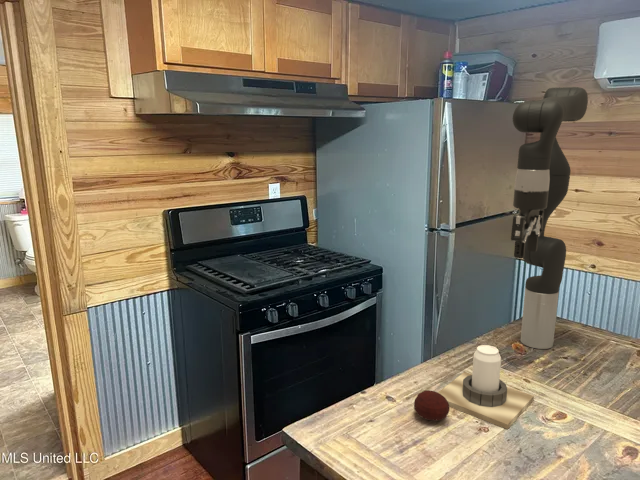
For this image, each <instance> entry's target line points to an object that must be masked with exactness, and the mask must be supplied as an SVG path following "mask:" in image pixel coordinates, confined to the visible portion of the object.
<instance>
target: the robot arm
mask: <svg viewBox="0 0 640 480" xmlns="http://www.w3.org/2000/svg"><path fill="white" fill-rule="evenodd" d="M588 95H589V94H588V92H587V90H586V89H585V88H583V87H580V86H578V87H577V86H570V87H567V86H566V87H549V88H547V89H546V91H545V93H544V96H543V98H542V99H540V100H528V101H522V102H520V103H519V104H518V105H517V106H516V107H515V108H514V111H513V113H512V124H513V127H514V128H515V129H516V130H517V131H518V132H521V133H524V134H525V133H527V134H529V133H531V134H532V133H533V134H534V133H536V134H537V133H540V134H539V139H538V140H537V141H534V142H527V143H524V144H521V145H520V146H519V149H518V158H517V168H516V175H515V178H514V179H515V180H514V189H513V190H514V191H513V203H512V206H513V207H514V208H515V209H518V210H519V212H518V213H519V214H518V215H516V214H514V215H513V217H512V225H511V236H510V240H511V241H512V242H515V243H514V251H513V257H514V258H517V259H523V261H524V262H525V263H526V265H530V266H534V267H538V268H541V269H542V273H541V275H532V276H529V277H528V278H527V277H526V280H525V288H524V297H523V299H524V300H523V308H522V319H521V320H522V321H521V330H520V331H521V332H520V343H522V344H523V345H524V346H527V347H530V348H533V349H537V350H538V349H539V350H546V349H551V348H553V347H554V340H555V334H556V333H555V332H556V331H555V330H556V323H557V322H556V321H557V315H558V314H557V311H558V304H559V303H558V302H559V295H560V294H559V291H560V286H561V283H562V281H563V276H564V275H563V274H564V269H565V265H566V264H565V262H566V258H567V246H566V242H564V240H562V239H559V238H556V237H551V236H546V235H545V231H546V226H547V222H548V220H549V218H550V217H551V216H552V214H553V212H555V210H556V209H557V208H558V206H559V205H560V204H562V202H563V200H564V199H565V197H566V196H567V194H568V191H569V187H570V177H571V166H570V162H569V161H568V159H567V157H566V155H565V154H564V152H563V150H562V148H561V146H560V143H559V142H558V139H557V135H558V132H559V130H560V128H561V125H562V123H563V122H578V121H581V120H582V119H583V118H584V117H585V115H586V113H587V108H588V103H589V96H588Z"/></svg>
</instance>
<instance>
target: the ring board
mask: <svg viewBox="0 0 640 480" xmlns="http://www.w3.org/2000/svg"><path fill="white" fill-rule="evenodd" d="M437 393H439V394H441V395H442V396H444V397H445V398H446V399H447V401H448V403H449V408H450V407H451V408H453V409H455V410H456V411H457V410H458V411H460V412H463V413H465V414H468V415H470V416H472V417H475V418H478V419H480V420H483V421H485V422H488V423H490V424H493V425H495V426H497V427H499V428H502V429H505V430H508V429H509V428H510V427H511V426H512V425H513V424H514V423H515V421H516V420H517V419H518V418H519V417H520V416H521V415H522V414H523V413H524V411H526V409H527V408H528V407H529V406H530V405H531V404H532V403H533V402H534V399H535V395H533V394H530V393H527V392H525V391H521V390H518V389H515V388H512V387H509V386H507V384H506V382H504V381H503V380H502V379H499V391H498V392H492V393H489V392H481V391H478V390H476V389H473V388H472V373H468V372H465V371H464V372H463V373H461V374H460V375H458V376H457V377H456V378H454V379H453V380H452V381H451V382H449V383H448V384H447V385H446V386H444V387H443V388H442V389H440V391H438V392H437Z"/></svg>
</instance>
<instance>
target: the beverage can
mask: <svg viewBox="0 0 640 480" xmlns="http://www.w3.org/2000/svg"><path fill="white" fill-rule="evenodd" d="M499 350H500V349H498V348H497V347H495V346H493V345H488V344H481V345H478V346H477V347H476V350H475V351H474V353H473V360H472V373H471V374H472V388H473V389H476V390H478V391H481V392H489V393H492V392H498V391H499V379H500V378H501V367H502V366H501V365H502V364H501V363H502V357H501V355H500V353H499V352H500V351H499ZM500 380H501V379H500Z"/></svg>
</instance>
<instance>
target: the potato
mask: <svg viewBox="0 0 640 480" xmlns="http://www.w3.org/2000/svg"><path fill="white" fill-rule="evenodd" d="M413 408H414V411H415V412H416V414H417V415H418V416H420V417H421V418H422V419H424V420H428V421H441V420H444V419H445V418H446V417H447V416H448V415H449V412H450V406H449V403H448V401H447V399H446V398H445V397H444V396H442V395H441V394H439V393H438V392H437V391H434V390H430V389H429V390H426V389H425V390H423V391H422V392H420V393H417V395H416V397H415V399H414V403H413Z"/></svg>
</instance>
